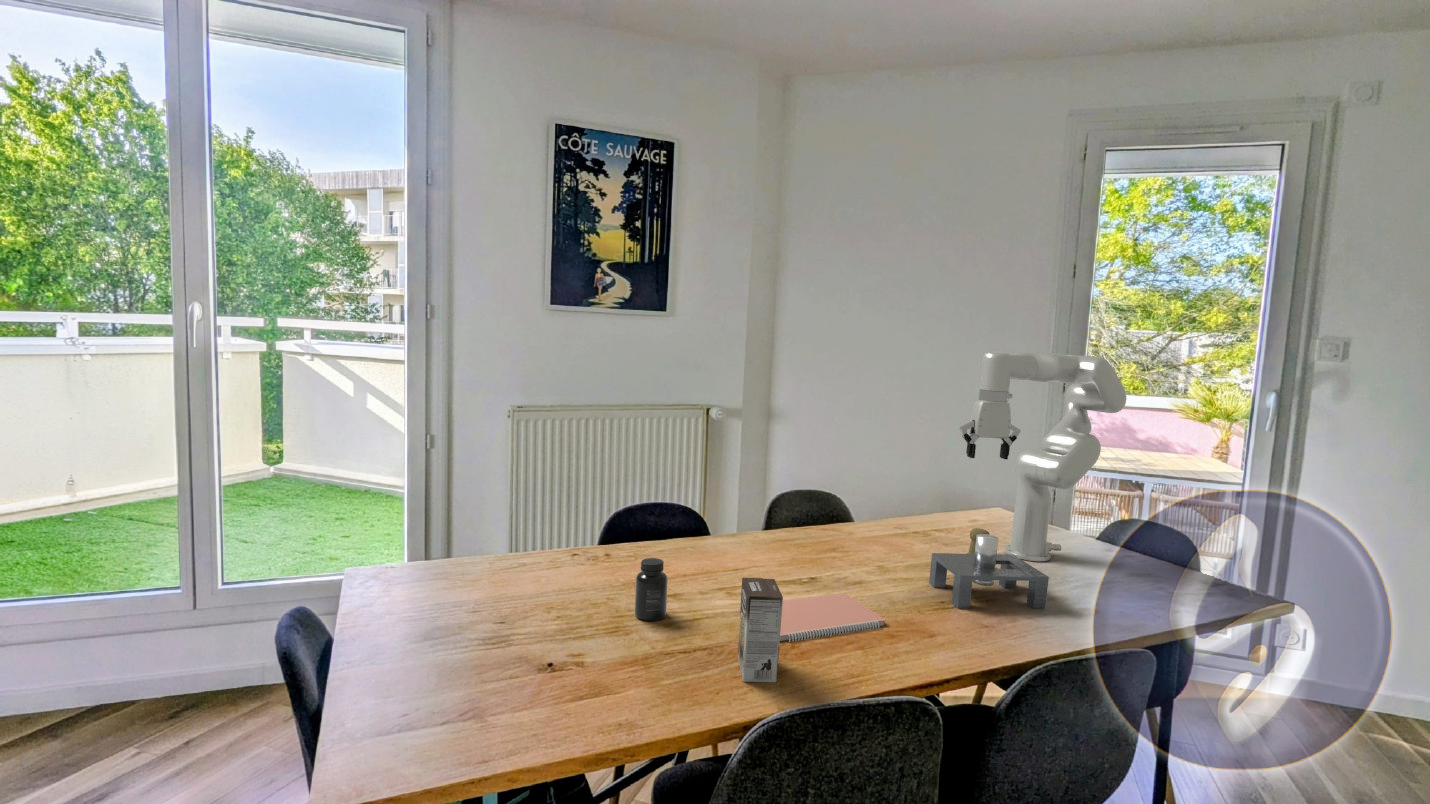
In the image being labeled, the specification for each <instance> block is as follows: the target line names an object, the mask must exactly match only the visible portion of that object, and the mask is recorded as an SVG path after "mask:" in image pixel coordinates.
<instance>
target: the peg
mask: <svg viewBox="0 0 1430 804" xmlns="http://www.w3.org/2000/svg"><path fill="white" fill-rule="evenodd" d="M989 534H990V533H989ZM989 534H977V537H976V546H975V556H974V564H975V565H977V566H980V567H984V568H994V567H995V568H996V567H997V566H996V565H997V564H996V557H997V554H998V548H999V547H998V546H999V545H998V544H999V537H997V536H996V535H993V534H990V535H989ZM972 583H973V584H977V585H980V586H984V587H991V586H994V584H995V580H972Z"/></svg>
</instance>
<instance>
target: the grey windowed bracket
mask: <svg viewBox="0 0 1430 804" xmlns="http://www.w3.org/2000/svg"><path fill="white" fill-rule="evenodd" d="M974 556H975V554H968V553H954V552H953V553H949V552H947V553H946V552H944V553H943V552H941V553H940V552H938V553H937V552H932V553H931V558H930V559H931V560H930V568H929V569H930V571H929V581H928V583H929V585H931V586H932V588H934V589H937V588H938V589H939V588H941V589H942V588H943V589H944V588H945V589H946V584H947V574H948V571H949V572H950V573H951V574H952V575H954V576H953V577H954V578H953V587H952V598H951V605H953V606H954V607H955V606H956V607H957V608H956V607H955V608H956V609H959V610H960V608H961V609H962V610H963V609H965V610H967V609H969V610H970V608H971V597H972V588H973V581H972V580H994V581H998V585H999V586H1001V587H1002V588H1004V589H1005V590H1007V589H1009V590H1010V589H1011V590H1012V589H1013V590H1016V589H1017V582H1018V581H1020V582H1021V581H1022V582H1023V581H1026V582H1027V581H1028V587H1027V593H1026V594H1027V595H1026V606H1028V607H1029V608H1031V609H1033V610H1046V604H1047V598H1048V596H1047V595H1048V589H1049V586H1048V585H1049V579H1050V578H1049V576H1048V575H1047V574H1045V573H1043V572H1042V571H1040V570H1038V569H1037V568H1035V567H1034V566H1032V565H1031V564H1028V563H1027V562H1026V561H1025V560H1023V559H1019V558H1018V557H1016V556H1014V555H1008V554H1007V553H1006V554H1005V553H1004V554H1003V553H1002V554H1000V553H997V557H996V565H1000V568H999V569H998V568H997V567H996V566H995V567H994V568H984V567H980V566H977V565H975V564H974Z"/></svg>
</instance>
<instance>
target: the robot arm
mask: <svg viewBox="0 0 1430 804" xmlns="http://www.w3.org/2000/svg"><path fill="white" fill-rule="evenodd" d="M1011 380H1017V381H1018V380H1020V381H1027V380H1028V381H1033V382H1039V383H1051V384H1053V383H1055V384H1071V385H1070V386H1068V388H1067V390H1066V392H1065V408H1064V409H1065V412H1064V416H1063V418H1062V419H1061V420H1060V421H1059V422H1058V423H1057V424H1056V425H1055V426H1054V427H1053V428H1052V429H1051V430H1050V431H1049V432H1047V434H1046V435H1045V436H1044V438H1043V439H1042V440H1041V443H1040V450H1039V449H1032V448H1031V449H1026V450H1023V451H1021V452H1020V453H1019V454H1018V455H1017V456H1016V460H1015V469H1014V470H1015V474H1016V475H1015V476H1016V490H1015V491H1016V492H1015V501H1014V513H1013V519H1012V520H1013V521H1012V527H1011V528H1012V531H1011V539H1010V544H1008V545H1005V546H1004V552H1005V553H1006V554H1008V555H1014V556H1016V557H1018V558H1019V559H1021V560H1022V561H1029V562H1046V561H1048V562H1049V560H1051V557H1052V554H1051V553H1050V552H1052V551H1056V552H1057V551H1058V552H1059V551H1062V549H1063V547H1062V545H1061V544H1060V543H1052V542H1050V541H1049V542H1048V541H1047V540H1048V529H1049V522H1050V513H1051V512H1050V511H1051V505H1052V497H1051V492H1050V489H1049V487H1050V488H1056V489H1060V490H1068V489H1071V488H1072V487H1074V486H1076V484H1077V483H1079V481H1080V480H1081V479H1082V478H1084V476H1085V475H1086V474H1087V473H1088V472H1089V471H1091V469H1092V468H1093V466H1095V464H1096V463H1097V461H1098V460H1099V457H1100V456H1101V450H1102V447H1101V446H1102V445H1101V442H1100V440H1099V439H1098V437H1096V435H1093V434H1091V431H1092V423H1091V419H1090V418H1089V414H1088V411H1090V412H1091V411H1093V412H1098V413H1106V414H1116V413H1119V412H1121V411H1122V410H1123V409H1124V408H1125V406H1126V405H1127V394H1126V393H1127V392H1126V390H1125V388H1124V387H1125V386H1124V385H1123V383H1122V382H1121V380H1120V378H1119V376H1118V373H1116V370H1115V369H1114V367H1113V366H1112V365H1111V363H1110V362H1109V361H1108V360H1107V359H1106V358H1104V357H1101V356H1089V355H1079V354H1078V355H1077V354H1065V353H1064V354H1063V353H1054V352H1053V353H1052V352H1018V351H1017V352H1016V351H1005V350H1003V351H1002V350H996V351H987V352H985V353H984V354H983V356H982V361H981V372H980V381H979V390H978V391H979V392H978V400H975V401H974V404H973V407H972V410H971V416H970V420H969V422H967V423H964V424H963V425H960V427H959V430H960V434H961V437H962V438H963V440H965V442H966V453H965V454H966V456H967V457H968V458H969V459H975V458H976V448H977V444H976V443H975V442H977V441H978V439H979V438H981V439H983V438H984V439H1000V440H1001V441H1002V443H1001V444H1000V450H999V458H1000V459H1003V460H1008V459H1009V455H1010V449H1011V448H1010V447H1011V446H1012V445H1013V443H1014V442H1015V441H1016V440H1017V439H1018V436H1019V435H1020V433H1021V429H1020V428H1018V427H1016V426H1015V425H1013V424H1012V415H1011V414H1012V413H1011V406H1010V402H1009V400H1010V399H1013V393H1010V383H1011ZM1011 431H1012V432H1011Z"/></svg>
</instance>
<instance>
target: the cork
mask: <svg viewBox="0 0 1430 804" xmlns="http://www.w3.org/2000/svg"><path fill="white" fill-rule="evenodd" d="M977 534H989V535H991V534H990V532H989V531H988V530H987V529H983V528H977V527H976V528H972V529H971V531H969V538H970V545H969V549H968V553H967V554H975V546H976V537H977Z"/></svg>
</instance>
